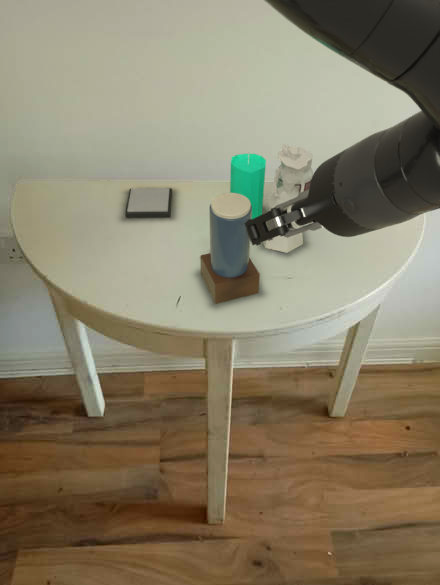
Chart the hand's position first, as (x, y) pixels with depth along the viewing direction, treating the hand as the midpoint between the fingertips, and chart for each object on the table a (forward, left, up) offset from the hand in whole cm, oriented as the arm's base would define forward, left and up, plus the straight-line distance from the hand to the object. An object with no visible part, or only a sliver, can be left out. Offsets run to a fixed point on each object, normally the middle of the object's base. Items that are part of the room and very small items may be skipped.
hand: (283, 222), depth 58 cm
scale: (-9, +36, -19) cm, 42 cm away
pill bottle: (+15, +26, -20) cm, 36 cm away
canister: (-2, +11, -15) cm, 19 cm away
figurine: (+10, +19, -20) cm, 29 cm away
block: (-2, +11, -19) cm, 23 cm away
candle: (+7, +28, -20) cm, 35 cm away
